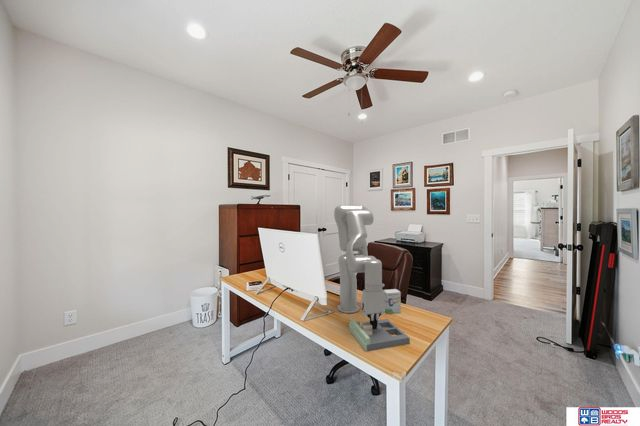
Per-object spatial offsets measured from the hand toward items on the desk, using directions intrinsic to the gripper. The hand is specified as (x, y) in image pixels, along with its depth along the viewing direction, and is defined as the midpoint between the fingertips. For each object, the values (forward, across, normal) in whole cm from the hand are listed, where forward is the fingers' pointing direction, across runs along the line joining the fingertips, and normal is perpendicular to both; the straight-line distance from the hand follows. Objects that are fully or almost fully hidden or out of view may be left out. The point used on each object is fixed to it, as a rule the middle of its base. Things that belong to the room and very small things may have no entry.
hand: (373, 327), depth 106 cm
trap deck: (+4, -2, 0) cm, 5 cm away
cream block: (+2, +4, 0) cm, 4 cm away
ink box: (+4, -22, -21) cm, 31 cm away
